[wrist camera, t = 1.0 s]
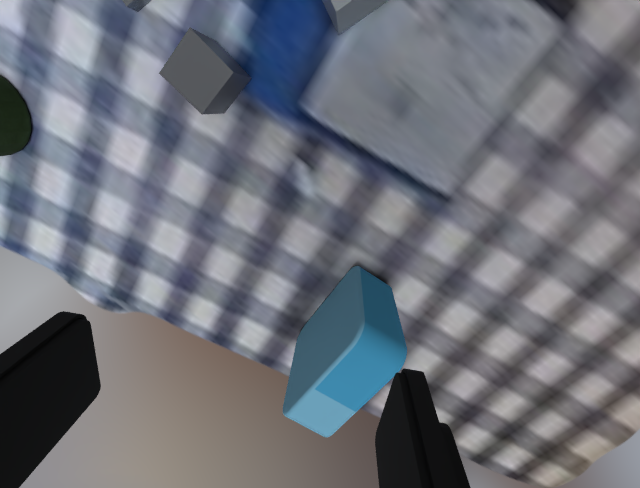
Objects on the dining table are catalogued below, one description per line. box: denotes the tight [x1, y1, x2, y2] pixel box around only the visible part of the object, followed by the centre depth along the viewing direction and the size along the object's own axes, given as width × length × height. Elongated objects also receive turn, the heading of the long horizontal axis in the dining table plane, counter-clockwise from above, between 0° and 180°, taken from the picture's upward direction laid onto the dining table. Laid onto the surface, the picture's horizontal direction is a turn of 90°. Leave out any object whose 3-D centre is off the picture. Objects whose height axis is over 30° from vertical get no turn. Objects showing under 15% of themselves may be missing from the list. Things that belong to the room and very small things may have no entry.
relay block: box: [159, 28, 252, 114], centre depth 26 cm, size 4×4×5 cm
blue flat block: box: [283, 266, 407, 437], centre depth 31 cm, size 12×4×12 cm, turn 146°
